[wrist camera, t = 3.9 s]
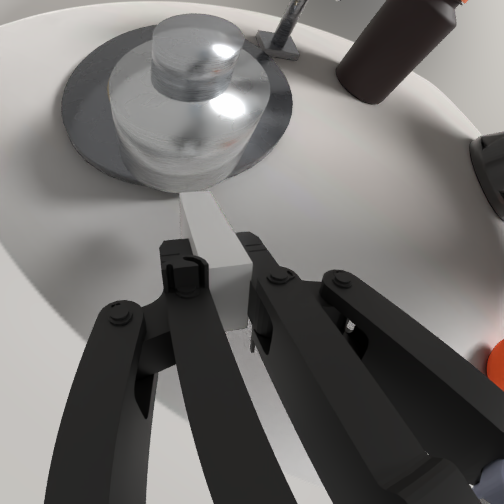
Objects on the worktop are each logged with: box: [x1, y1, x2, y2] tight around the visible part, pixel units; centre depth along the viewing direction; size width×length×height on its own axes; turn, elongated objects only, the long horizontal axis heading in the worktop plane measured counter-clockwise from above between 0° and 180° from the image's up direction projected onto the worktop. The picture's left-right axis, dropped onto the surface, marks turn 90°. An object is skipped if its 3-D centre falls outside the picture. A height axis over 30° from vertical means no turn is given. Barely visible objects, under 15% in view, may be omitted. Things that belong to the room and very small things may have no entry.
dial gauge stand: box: [256, 0, 341, 60], centre depth 19 cm, size 5×8×16 cm, turn 10°
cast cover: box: [108, 14, 270, 193], centre depth 15 cm, size 9×9×9 cm
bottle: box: [336, 0, 468, 104], centre depth 19 cm, size 7×7×20 cm
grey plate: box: [62, 25, 293, 186], centre depth 21 cm, size 20×20×1 cm
